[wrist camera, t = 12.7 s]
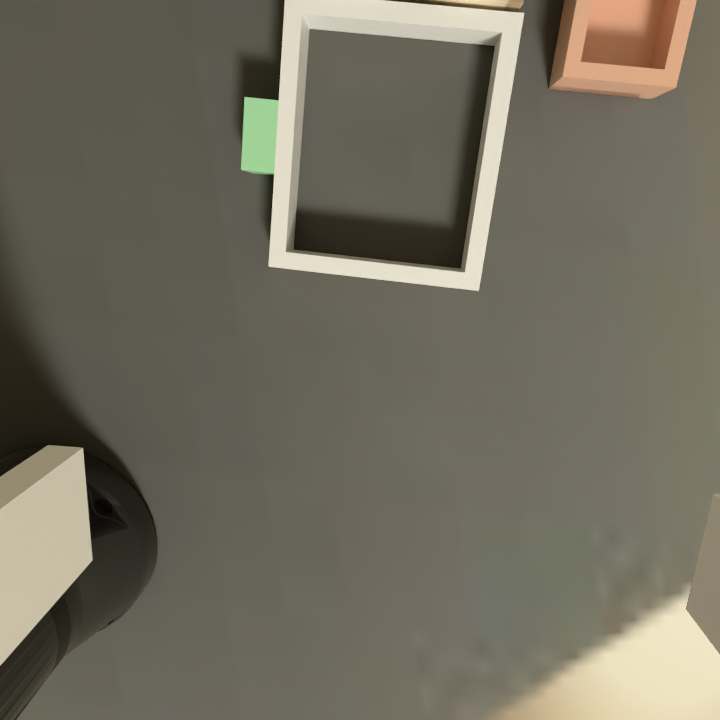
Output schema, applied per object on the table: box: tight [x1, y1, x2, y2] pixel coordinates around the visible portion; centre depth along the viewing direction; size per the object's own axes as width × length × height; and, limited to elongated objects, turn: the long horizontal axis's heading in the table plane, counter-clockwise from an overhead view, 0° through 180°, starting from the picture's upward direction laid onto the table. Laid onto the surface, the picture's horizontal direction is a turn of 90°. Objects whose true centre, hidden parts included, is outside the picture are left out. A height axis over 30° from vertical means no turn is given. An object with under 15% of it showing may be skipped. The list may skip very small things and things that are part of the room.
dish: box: [549, 0, 697, 99], centre depth 30 cm, size 6×6×3 cm
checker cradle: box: [241, 0, 524, 291], centre depth 33 cm, size 15×15×2 cm
